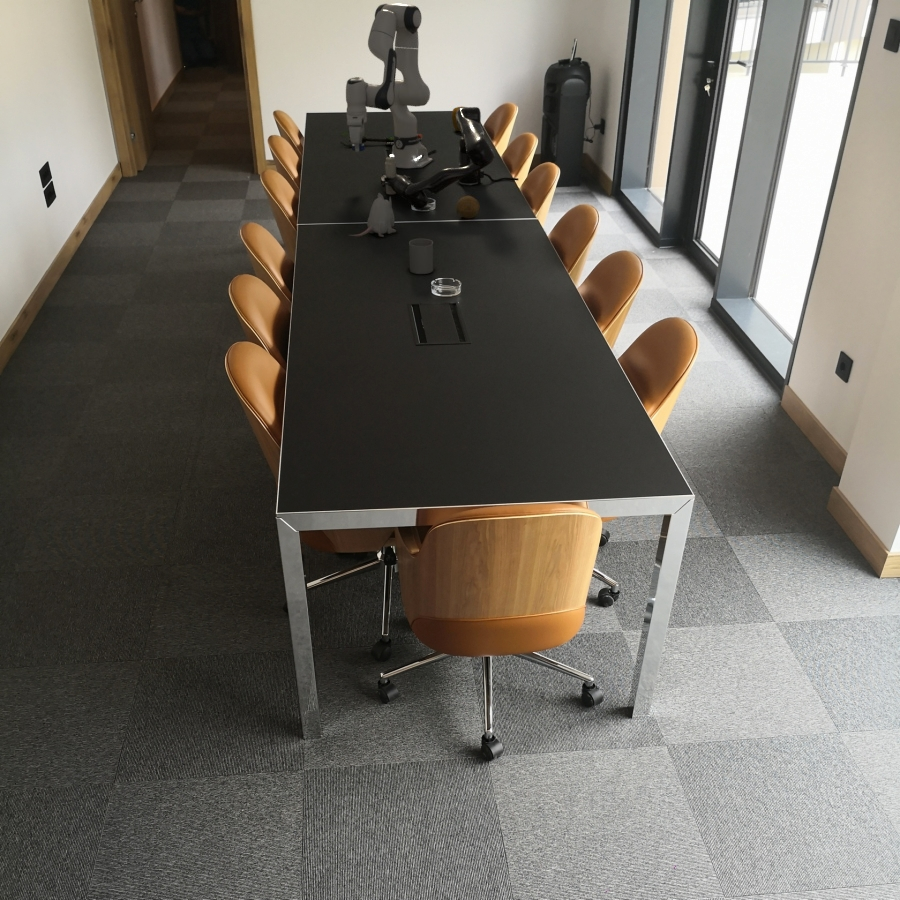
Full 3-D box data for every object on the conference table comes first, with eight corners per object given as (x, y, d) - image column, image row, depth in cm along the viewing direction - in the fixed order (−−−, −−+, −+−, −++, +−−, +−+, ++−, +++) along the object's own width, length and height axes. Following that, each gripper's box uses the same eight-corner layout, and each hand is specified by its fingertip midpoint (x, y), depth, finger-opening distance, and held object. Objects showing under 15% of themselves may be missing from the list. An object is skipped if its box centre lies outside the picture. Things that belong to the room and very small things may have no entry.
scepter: (396, 128, 463) (340, 126, 461) (396, 143, 456) (339, 141, 454) (396, 138, 468) (340, 135, 466) (396, 153, 461) (339, 151, 459)
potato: (477, 211, 365) (478, 192, 361) (481, 222, 353) (481, 202, 349) (454, 211, 364) (454, 192, 360) (457, 222, 352) (457, 203, 348)
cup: (409, 265, 311) (408, 238, 306) (432, 265, 312) (431, 238, 307) (410, 274, 304) (409, 246, 299) (433, 273, 305) (433, 246, 299)
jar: (385, 191, 390) (384, 156, 382) (396, 191, 390) (395, 156, 382) (386, 194, 386) (385, 159, 378) (397, 194, 387) (396, 159, 378)
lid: (357, 151, 388) (357, 146, 386) (349, 149, 391) (349, 144, 390) (367, 149, 391) (366, 144, 390) (358, 147, 394) (358, 142, 393)
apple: (471, 132, 486) (471, 108, 479) (451, 132, 486) (451, 108, 479) (470, 128, 495) (471, 104, 488) (452, 128, 495) (452, 104, 488)
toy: (401, 232, 342) (400, 194, 334) (357, 247, 328) (354, 207, 320) (386, 227, 348) (384, 189, 339) (341, 241, 333) (338, 202, 325)
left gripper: (353, 112, 392) (354, 144, 400) (346, 122, 375) (348, 155, 382) (367, 113, 392) (368, 144, 400) (361, 122, 375) (362, 155, 382)
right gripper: (387, 197, 373) (374, 186, 386) (418, 193, 378) (404, 183, 391) (386, 179, 369) (373, 169, 382) (417, 175, 374) (403, 166, 387)
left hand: (358, 149), depth 391 cm, fingers closed on lid, 5 cm apart
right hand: (388, 176), depth 387 cm, fingers closed on jar, 4 cm apart
